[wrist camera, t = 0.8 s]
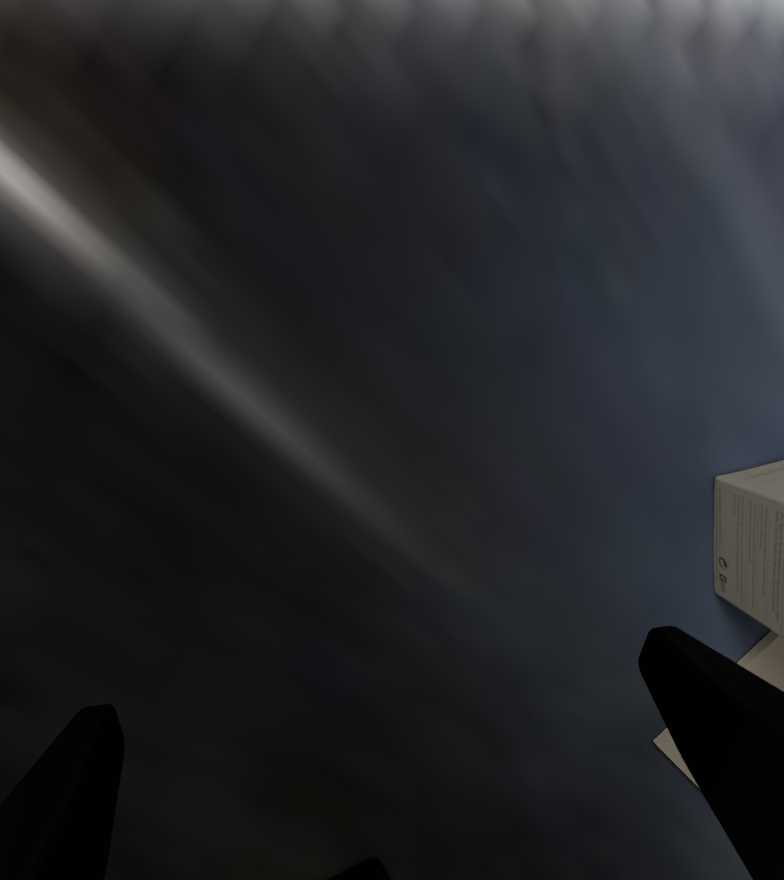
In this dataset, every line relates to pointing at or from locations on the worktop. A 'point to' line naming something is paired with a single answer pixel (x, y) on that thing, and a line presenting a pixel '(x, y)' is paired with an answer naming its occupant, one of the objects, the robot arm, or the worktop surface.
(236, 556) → the worktop surface
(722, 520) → the supplement box
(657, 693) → the robot arm
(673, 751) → the grey mat
